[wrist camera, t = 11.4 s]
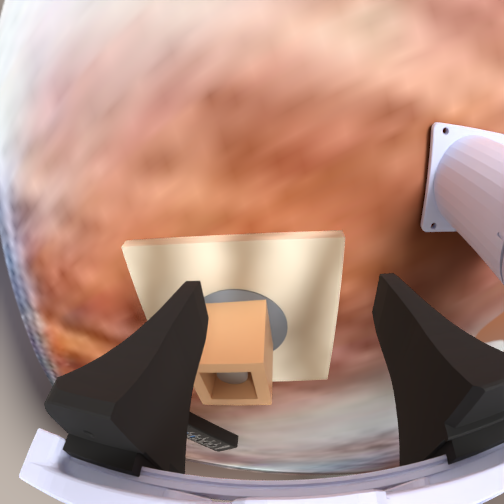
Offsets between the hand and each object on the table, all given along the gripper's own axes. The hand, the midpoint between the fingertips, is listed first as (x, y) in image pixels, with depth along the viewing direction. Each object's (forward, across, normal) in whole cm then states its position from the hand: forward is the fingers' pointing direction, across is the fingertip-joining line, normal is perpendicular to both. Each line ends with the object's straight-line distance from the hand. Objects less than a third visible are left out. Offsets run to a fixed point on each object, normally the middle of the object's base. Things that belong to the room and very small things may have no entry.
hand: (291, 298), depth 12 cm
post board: (+9, +4, +10) cm, 14 cm away
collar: (+8, +4, +10) cm, 13 cm away
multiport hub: (+10, +13, +30) cm, 35 cm away
